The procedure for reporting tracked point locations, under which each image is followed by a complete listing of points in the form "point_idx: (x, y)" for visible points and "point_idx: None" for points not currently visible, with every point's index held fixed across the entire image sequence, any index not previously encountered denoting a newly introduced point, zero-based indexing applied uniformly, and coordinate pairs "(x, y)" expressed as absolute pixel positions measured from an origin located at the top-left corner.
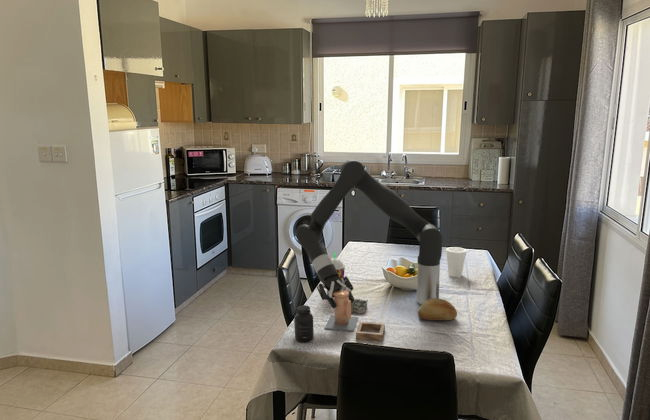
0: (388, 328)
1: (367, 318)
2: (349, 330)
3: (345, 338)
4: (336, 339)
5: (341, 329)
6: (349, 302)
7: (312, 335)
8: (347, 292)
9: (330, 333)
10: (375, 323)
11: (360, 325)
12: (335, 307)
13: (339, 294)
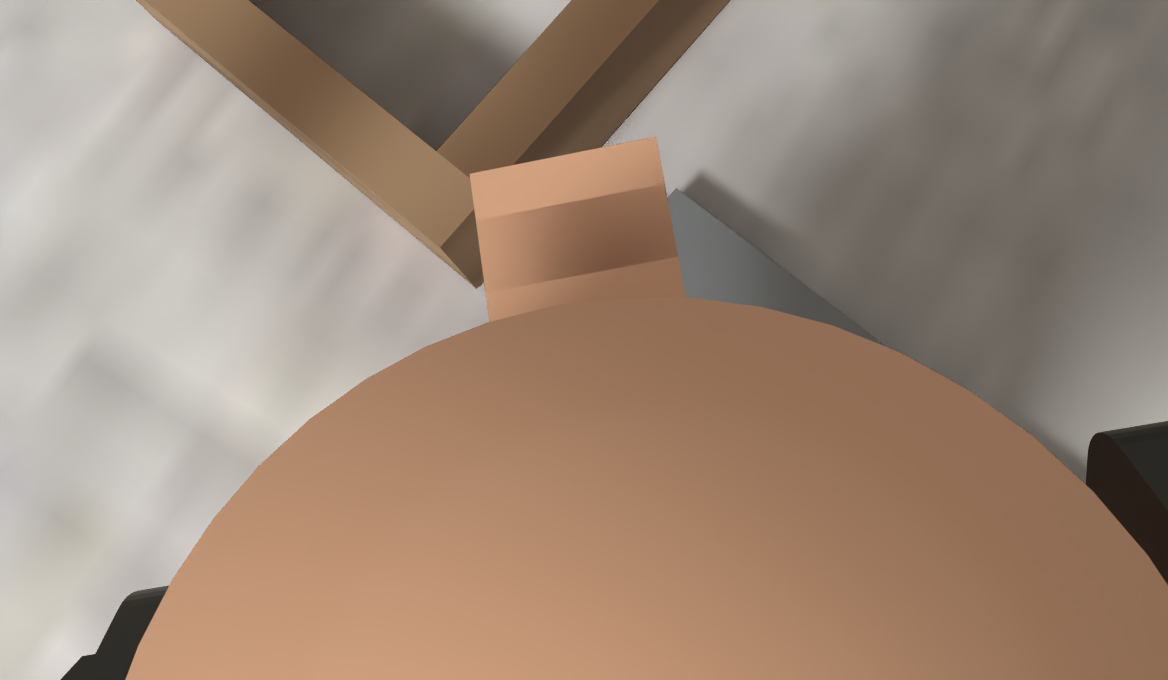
0: (72, 38)
1: (94, 591)
2: (741, 242)
3: (961, 29)
4: (1150, 66)
5: (880, 344)
6: (566, 173)
7: None
8: (229, 677)
9: (1159, 351)
10: (224, 23)
11: (537, 77)
12: (1104, 504)
13: (932, 657)
